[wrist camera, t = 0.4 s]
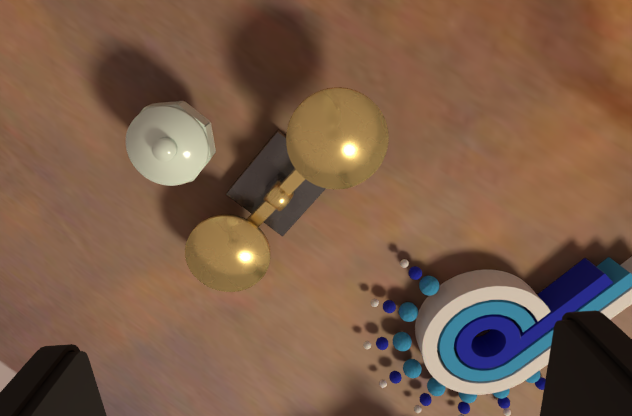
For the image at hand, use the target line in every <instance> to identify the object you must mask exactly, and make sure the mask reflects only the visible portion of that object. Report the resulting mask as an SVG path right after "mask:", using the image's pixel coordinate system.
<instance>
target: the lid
mask: <svg viewBox="0 0 632 416" xmlns="http://www.w3.org/2000/svg"><path fill="white" fill-rule="evenodd" d="M126 149H127V153H128V156H129V158H130V160H131V162H132V164H133V165H134V167H135V168H136V169H137V170H138V171H139V172H140V173H141V174H142V175H143V176H144V177H146V178H147V179H149V180H151V181H153V182H155V183H158V184H162V185H169V186H175V185H181V184H184V183H187V182H192V181H194V180H195V178H196V177H197V176H198V174H199V173H200V172H201V171H202V169H203V168H204V167H205V165H206V164H207V163H208V162H209V160H210V159H211V158H212V156H213V155H214V154H215V152H216V150H215V144H214V138H213V133H212V127H211V122H210V121H209V120H208V119H207V118H205V117H204V116H203V115H202V114H200V113H199V112H198V111H197V110H195V109H194V108H193V107H191V106H190V105H189V104H188V103H186V102H185V101H184V102H183V101H175V102H164V103H153V104H151V105H148V106H146V107H144V108H143V109H142V111H141V112H140V114H139V115H137V116H136V117H135V118H134V120H133V121H132V122H131V124H130V126H129V128H128V130H127V134H126Z"/></svg>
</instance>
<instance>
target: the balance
mask: <svg viewBox="0 0 632 416" xmlns="http://www.w3.org/2000/svg"><path fill="white" fill-rule="evenodd" d="M387 147H388V128H387V124H386V121H385V118H384V116H383V114H382V112H381V111H380V109H379V108H378V107H377V105H376V104H375V103H374V102H373V101H372V100H371V99H369V98H368V97H367V96H365V95H364V94H362V93H360V92H358V91H355V90H352V89H348V88H341V87H334V88H327V89H324V90H320V91H318V92H316V93H314V94H312V95H310V96H309V97H307V98H306V99H305V100H304V101H302V103H301V104H300V105H299V106H298V107H297V108H296V110H295V111H294V113H293V115H292V117H291V119H290V121H289V124H288V128H287V134H286V135H285V134H284V133H283V132H281V131H280V130H279V129H278V130H277V132H276V133H275V134H274V135H273V136H272V138H271V139H270V140H269V141H268V143H267V144H266V145H265V146H264V147H263V149H262V150H261V151H260V152H259V153H258V155H257V156H256V157H255V158H254V160H253V161H252V162H251V163H250V164H249V166H248V167H247V168H246V169H245V171H244V172H243V173H242V174H241V175H240V177H239V178H238V179H237V180H236V182H235V183H234V184H233V185H232V186H231V188H230V189H229V190H228V192H227V194H226V195H227V196H229V197H230V198H232V199H233V200H234V201H236V202H237V203H238V204H240V205H241V206H242V207H244V208H245V209H246V210H248V211H249V212H250V213H252V214H251V215H250V216H249V217H248V218H247V219H245V218H243V217H240V216H236V215H229V214H223V215H216V216H212V217H209V218H207V219H205V220H203V221H202V222H200V223H199V224H198V225H197V226H196V227H195V228H194V229H193V231H192V232H191V234H190V235H189V237H188V239H187V242H186V246H185V258H186V262H187V265H188V267H189V269H190V271H191V272H192V274H193V275H194V276H195V277H196V278H197V279H198V280H199V281H200V282H202V283H203V284H204V285H206V286H208V287H210V288H212V289H215V290H219V291H224V292H236V291H241V290H245V289H247V288H250V287H252V286H253V285H255V284H256V283H258V282H259V281H260V280H261V279H262V277H263V276H264V275H265V273H266V271H267V269H268V266H269V262H270V246H269V243H268V240H267V238H266V236H265V235H264V233H263V232H262V231H261V229H260V228H259V226H260V225H261V224H262V223H263V222H264V223H265V224H267V225H268V226H269V227H271V228H272V229H273V230H275V231H276V232H277V233H279V234H280V235H281V236H283V235H284V234H285V233H286V232H287V231H288V230H289V229H290V228H291V227H292V225H293V224H294V223H295V222H296V221H297V220H298V219H299V218H300V217H301V215H302V214H303V213H304V212H305V211H306V210H307V209H308V208H309V207H310V205H311V204H312V203H313V202H314V201H315V200H316V199H317V198H318V197H319V196H320V194H321V193H322V192H323V191H324V190H325V189H326V188H327V189H345V188H350V187H353V186H356V185H358V184H360V183H362V182H364V181H365V180H367V179H368V178H369V177H370V176H372V175H373V174H374V173H375V171H376V170H377V169H378V168H379V166H380V165H381V163H382V161H383V159H384V157H385V154H386V151H387Z"/></svg>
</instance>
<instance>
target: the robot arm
mask: <svg viewBox="0 0 632 416" xmlns="http://www.w3.org/2000/svg"><path fill="white" fill-rule="evenodd" d="M0 416H106V413H105V409H104V406H103V403H102V400H101V397H100V393H99V390H98V387H97V384H96V381H95V377H94V374H93V371H92V368H91V365H90V361H89V358H88V356H87V354H86V353H85V352H83V351H80V350H79V348H78V347H77V346H76V345H72V344H71V345H56V346H44V347H41V348H40V349H39V350H38V351H37V352H36V353H35V354H34V355H33V356H32V357H31V358H30V360H29V361H28V362H27V363H26V364H25V365H24V366H23V367H22V369H21V370H20V371H19V372H18V373H17V374H16V375H15V377H14V378H13V379H12V380H11V381H10V382H9V383H8V384H7V386H6V387H5V388H4V389H3V390H2V391H1V392H0ZM540 416H632V339H631V338H629V337H628V336H627V335H626V334H625V333H624V332H623V331H622V330H621V329H620V328H618V327H617V326H616V325H615V324H614V323H613V322H612V321H611V320H610V319H609V318H608V317H606V316H605V315H604V314H603V313H601V312H600V311H596V310H594V311H579V312H567V313H565V314H564V315H563V317H562V320H559V321H557V322H556V323H555V325H554V330H553V336H552V343H551V349H550V355H549V362H548V368H547V374H546V381H545V387H544V393H543V400H542V406H541V412H540Z"/></svg>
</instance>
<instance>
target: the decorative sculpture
mask: <svg viewBox="0 0 632 416" xmlns="http://www.w3.org/2000/svg"><path fill="white" fill-rule="evenodd" d="M408 264H409V262H408V261H407V260H406V259H403V260H401V262H400V265H401V266H402V267H403V268H405V267H407V266H408ZM409 276H410V278H412V279H414V280H417V279H419V278H420V277H421V276H422V271H421V269H420V268H419V267H416V266H414V267H411V268H410V269H409ZM419 288H420V290H421V292H422V293H423V294H425V295H428V297H427V298H426V299H425V301H424V302H423V304H422V306H421V308H420V310H419V312H418V309H417V307H416V305H414V304H413V303H411V302H405V303H403V304H402V305H401V306H400V308H399V315H400V317H401V318H402V319H403V320H404V321H407V322H411V321H414V320H415V319H416V323H415V335H416V340H417V343H418V346H419V349H420V351H421V354H422V357H423V360H424V362H425V365H426V367H427V369H428V371H429V372H430V374H431V375H432V376H433V378H431V379H430V380H429V381H428V383H427V388H428V391H429V392H430V393H431V394H432V395H434V396H441V395H442V394H443V393H444V391H445V387H447V388H449V389H451V390H454V391H457V392H459V397H460V398H461V400H462V401H464V402H460V403H459V405H458V409H459V411H460V412H461V413H463V414H467V413H468V412H469V411H470V406H469V404H468V403H472V402H474V401H475V400H476V397H477V394H491V393H492V394H493V395H494V396H495V397H497V398H498V404H499V406H500V407H501V408H505V409H504V410H503V413H504V414H505V415H506V416H509V415H510V414H511V411H510V409H508V407H509V406H510V400H509V399H508V398H507V397H506V396H507V395H508V394H509V388H512V387H514V386H516V385H518V384H520V383H522V382H523V381H527V382H529V383H534V382H535V385H536V387H537V388H539V389H541V390H544V387H545V381H546V379H545V378H542V377H540V371H539V370H540V369H542V368H543V367H545V366H546V365H547V364H548V362H549V355H550V349H551V343H552V336H553V330H554V325H555V323H556V322H557V321H559V320H562V317H563V315H564V314H565V313H567V312H579V311H594V310H596V311H600V312H601V313H603V314H604V315H605V316H606V317H608V318H609V319H612V318H613V317H614V316H616V315H617V314H618V313H620V312H621V311H623V310H624V309H625V308H627V307H628V306H630V305H631V304H632V257H630V258H629V259H628V260H626V261H625V262H624V263H622V264H621V265H619V264H618V263H616V262H615V261H613V260H612V259H611V258H609V257H608V258H607V259H605V260H604V261H603V262H601V263H600V264H599V265H598V266H595V265H594V264H592V263H591V262H590V261H589V260H587V259H586V258H584V259H583V260H581V261H580V262H579V263H578V264H576V265H575V266H574V267H572V268H571V269H570V270H569V271H567V272H566V273H565V274H563V275H562V276H561V277H560V278H558V279H557V280H556V281H554V282H553V283H552V284H550V285H549V286H548V287H547V288H545V289H544V290H543V291H541V292H540V293H539V294H538V295H537V294H536V293H535V292H534V291H533V290H532V288H531V287H530V286H529V285H528V284H526V283H525V282H524V281H523V280H522V279H520V278H518V277H517V276H515V275H512V274H510V273H507V272H503V271H499V270H475V271H470V272H466V273H463V274H460V275H457V276H455V277H453V278H450V279H449V280H447V281H445V282H444V283H442V284H441V285H440V286H439V282H438V280H437V279H436V278H435V277H433V276H425V277H423V278H422V279H421V280H420V283H419ZM378 304H379V302H378V300H377V299H372V300H371V305H372V306H373V307H376V306H378ZM383 309H384V311H385V312H387V313H392V312H394V311H395V309H396V305H395V303H394V302H393V301H391V300H387V301H385V302H384V303H383ZM488 329H491V330H490V331H489V332H488V333H486V334H485V335H483V336H480V337H475V336H476V335H477V334H478V333H480V332H482V331H484V330H488ZM411 343H412V340H411V337H410V336H409V335H408V334H407V333H405V332H398V333H397V334H395V335H394V337H393V345H394V347H395V348H396V349H397V350H399V351H406V350H408V349H409V348H410V347H411ZM376 345H377V347H378V348H379V349H380V350H385V349H386V348H387V347H388V340H387V339H386V338H384V337H380V338H378V339H377V341H376ZM363 346H364V348H365V349H369V348H370V347H371V343H370V342H369V341H365V342H364V344H363ZM437 349H438V350H437ZM421 370H422V368H421V365H420V363H419V362H418V361H417V360H415V359H408V360H407V361H406V362H405V363H404V365H403V371H404V373H405V375H406V376H408V377H410V378H416V377H418V376H419V375H420V373H421ZM389 377H390V381H391V382H392V383H396V384H397V383H399V382H400V381H401V374H400V373H399V372H397V371H392V372H391V373H390V376H389ZM379 385H380V387H382V388H384V387H386V385H387V383H386V381H385V380H381V381H380V382H379ZM420 402H421V403H422V405H424V406H428V405H430V403H431V397H430V395H429V394H426V393H423V394H421V396H420ZM414 411H415V412H416V413H420V412H421V407H420V406H419V405H415V407H414ZM458 416H464V415H462V414H460V415H458Z"/></svg>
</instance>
